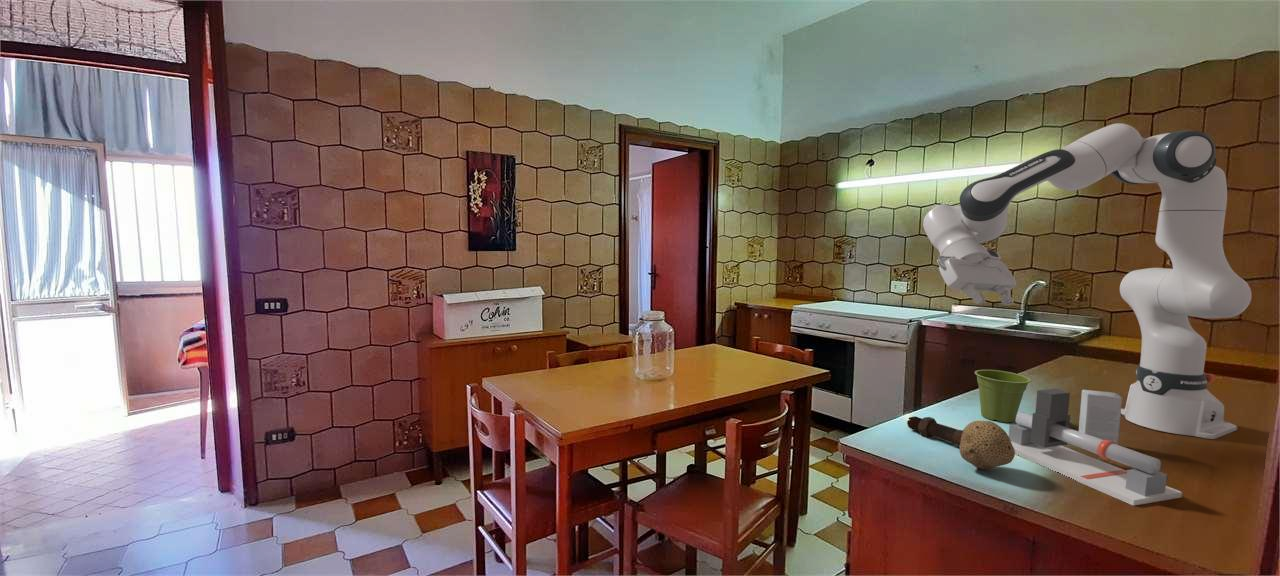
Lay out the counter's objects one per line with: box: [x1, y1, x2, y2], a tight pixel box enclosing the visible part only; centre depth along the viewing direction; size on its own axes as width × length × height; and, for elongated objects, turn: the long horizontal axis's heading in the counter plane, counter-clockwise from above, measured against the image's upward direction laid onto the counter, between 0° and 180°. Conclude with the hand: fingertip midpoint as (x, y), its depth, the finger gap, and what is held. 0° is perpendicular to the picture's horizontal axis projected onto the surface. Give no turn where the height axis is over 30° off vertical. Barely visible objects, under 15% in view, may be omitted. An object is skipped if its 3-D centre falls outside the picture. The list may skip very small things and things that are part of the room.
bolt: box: [906, 416, 964, 447], centre depth 120 cm, size 6×5×15 cm
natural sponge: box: [959, 420, 1016, 471], centre depth 104 cm, size 9×9×10 cm
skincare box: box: [1078, 389, 1123, 445], centre depth 117 cm, size 6×4×12 cm
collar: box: [1030, 388, 1071, 448], centre depth 111 cm, size 3×6×11 cm, turn 105°
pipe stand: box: [1008, 411, 1183, 506], centre depth 105 cm, size 27×12×8 cm, turn 15°
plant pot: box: [974, 369, 1032, 423], centre depth 134 cm, size 12×12×11 cm
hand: (995, 303), depth 124 cm, fingers open, 8 cm apart
